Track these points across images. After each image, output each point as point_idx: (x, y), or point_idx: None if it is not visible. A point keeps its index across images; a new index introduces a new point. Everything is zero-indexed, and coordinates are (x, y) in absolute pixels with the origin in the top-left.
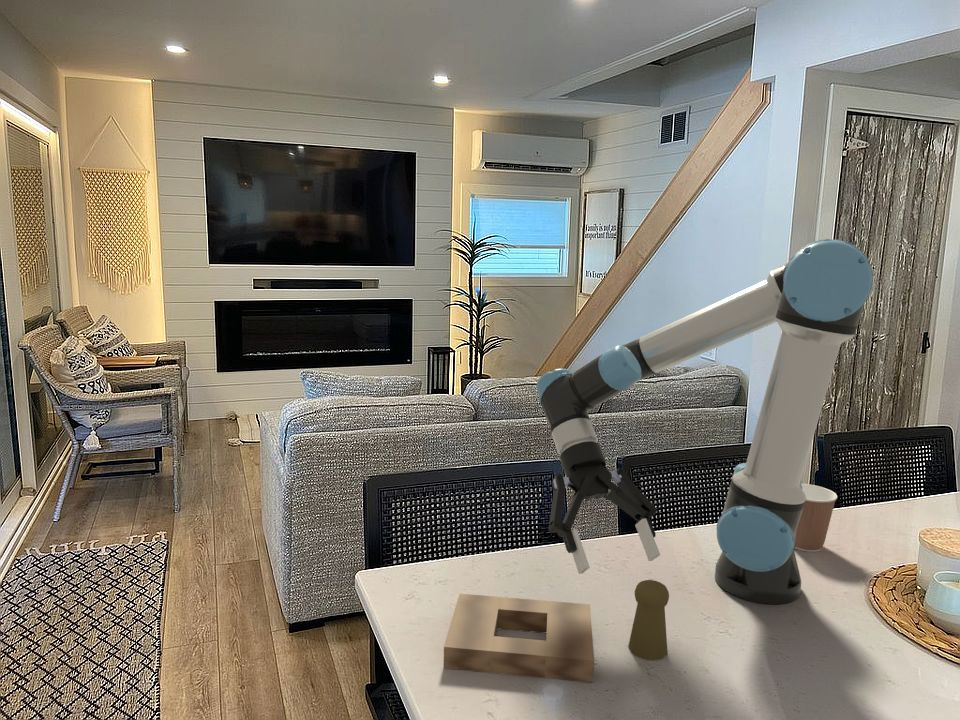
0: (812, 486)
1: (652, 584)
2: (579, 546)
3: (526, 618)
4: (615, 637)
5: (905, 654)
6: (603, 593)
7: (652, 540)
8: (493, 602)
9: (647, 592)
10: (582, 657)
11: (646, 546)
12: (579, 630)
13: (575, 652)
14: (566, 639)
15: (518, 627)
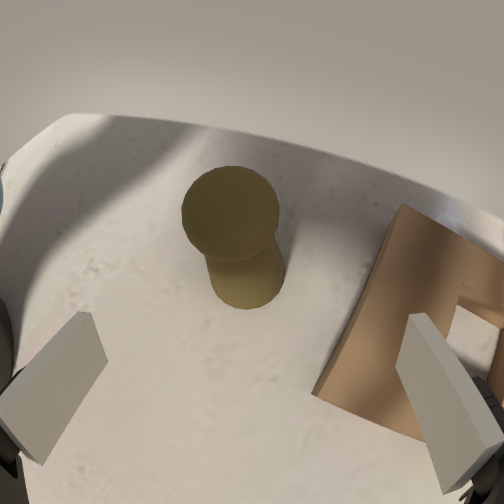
0: None
1: (226, 191)
2: (461, 372)
3: None
4: (285, 328)
5: (11, 175)
6: (203, 484)
7: (53, 345)
8: None
9: (262, 177)
10: (417, 216)
11: (79, 379)
12: (395, 296)
13: (425, 233)
14: (429, 274)
15: None
